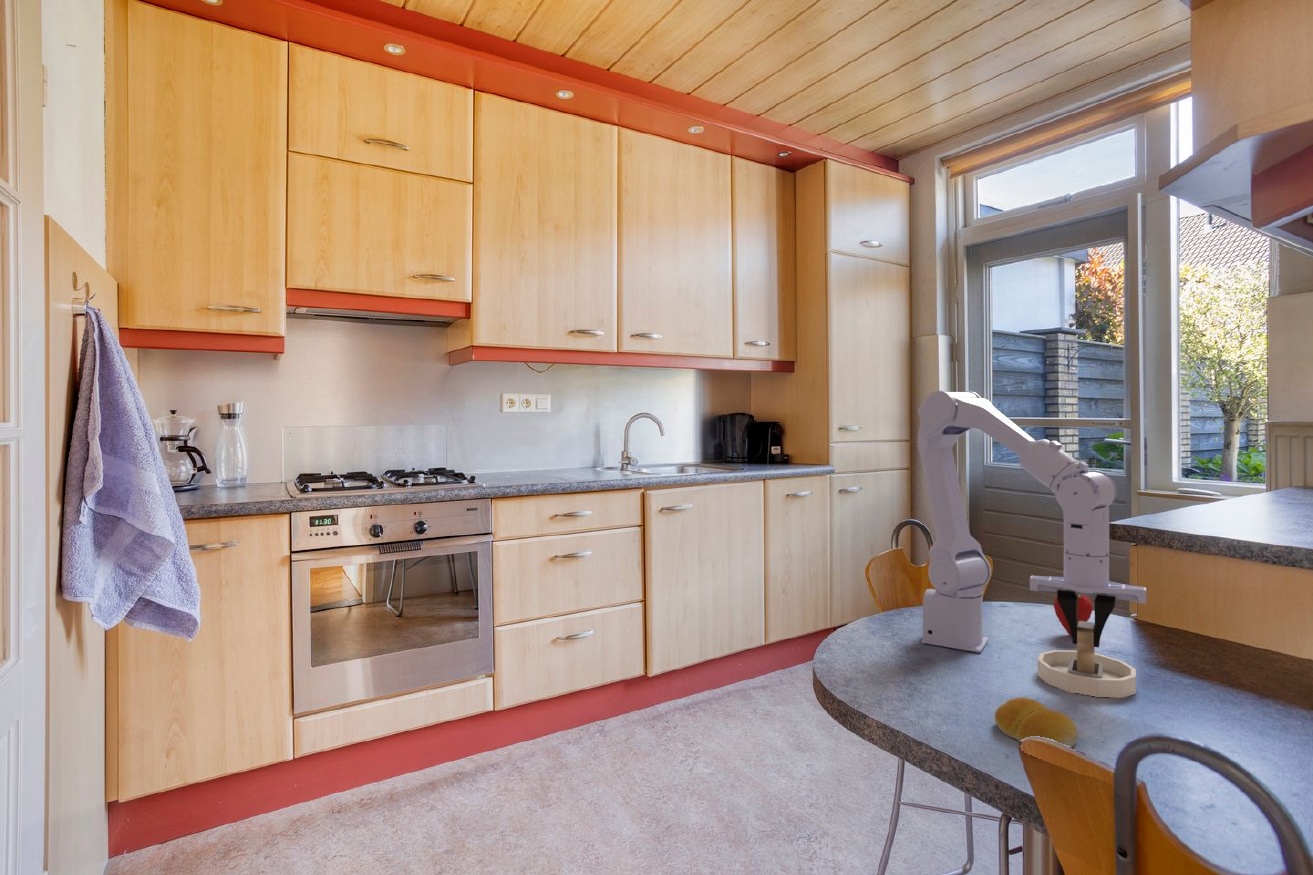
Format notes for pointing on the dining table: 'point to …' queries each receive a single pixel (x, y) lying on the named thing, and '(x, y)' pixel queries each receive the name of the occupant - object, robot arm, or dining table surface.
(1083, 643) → the tan cardboard box
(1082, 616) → the strawberry
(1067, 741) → the bread roll
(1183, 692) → the dining table surface
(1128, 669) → the beige faceted bowl
